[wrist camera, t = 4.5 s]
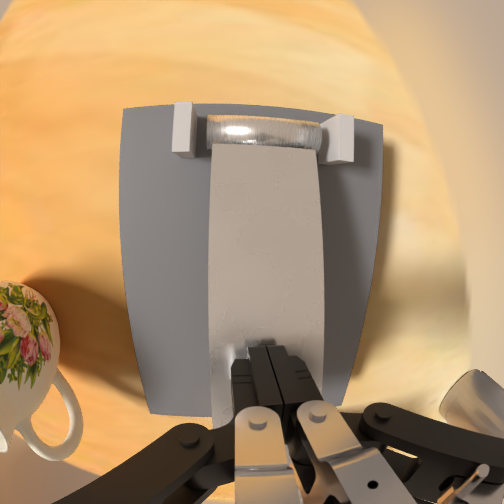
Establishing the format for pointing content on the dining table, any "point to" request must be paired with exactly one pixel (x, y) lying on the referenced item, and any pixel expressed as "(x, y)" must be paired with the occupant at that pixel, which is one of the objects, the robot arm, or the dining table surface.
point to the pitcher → (31, 369)
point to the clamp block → (197, 243)
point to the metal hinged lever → (263, 246)
